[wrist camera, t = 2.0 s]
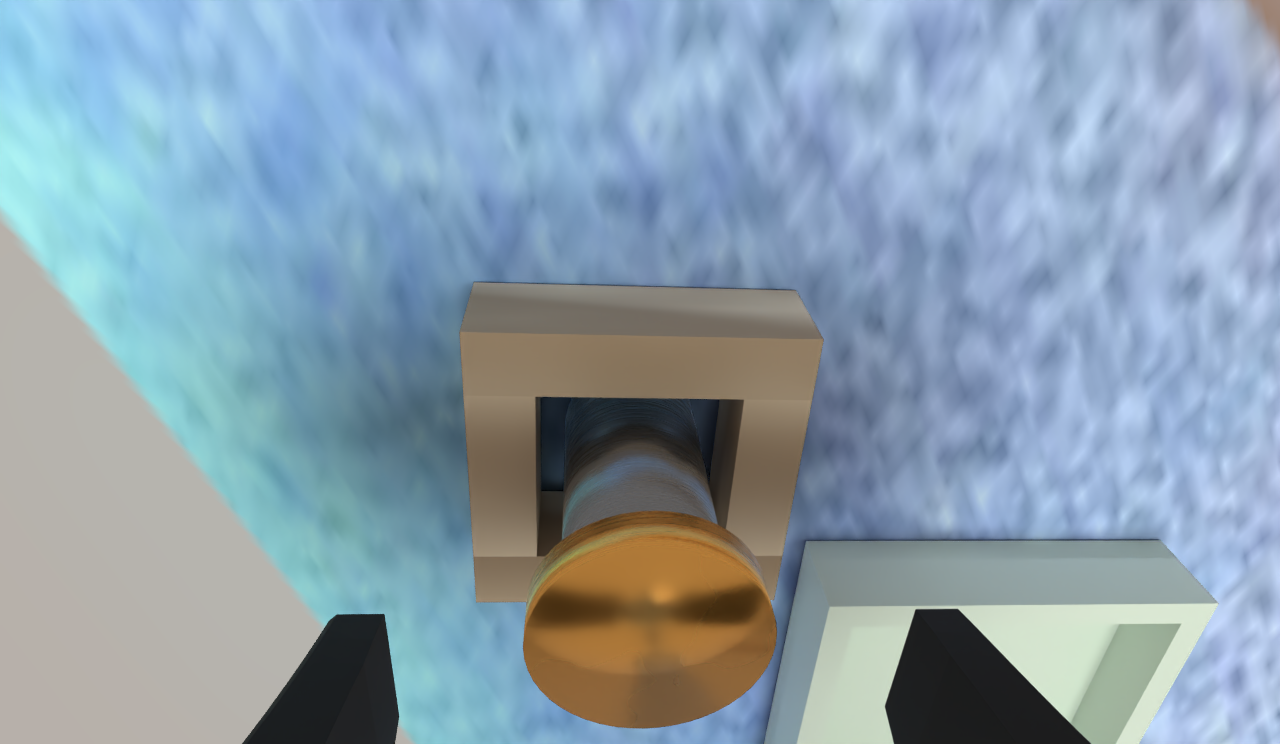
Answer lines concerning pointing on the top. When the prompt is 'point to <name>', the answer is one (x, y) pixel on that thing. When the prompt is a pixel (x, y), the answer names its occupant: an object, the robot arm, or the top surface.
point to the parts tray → (988, 629)
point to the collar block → (631, 368)
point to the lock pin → (643, 577)
